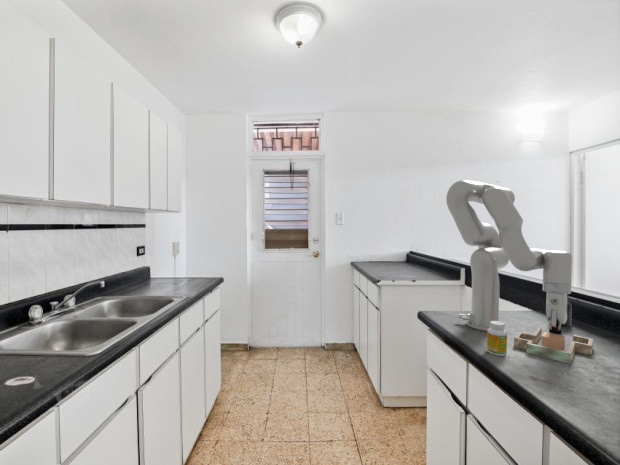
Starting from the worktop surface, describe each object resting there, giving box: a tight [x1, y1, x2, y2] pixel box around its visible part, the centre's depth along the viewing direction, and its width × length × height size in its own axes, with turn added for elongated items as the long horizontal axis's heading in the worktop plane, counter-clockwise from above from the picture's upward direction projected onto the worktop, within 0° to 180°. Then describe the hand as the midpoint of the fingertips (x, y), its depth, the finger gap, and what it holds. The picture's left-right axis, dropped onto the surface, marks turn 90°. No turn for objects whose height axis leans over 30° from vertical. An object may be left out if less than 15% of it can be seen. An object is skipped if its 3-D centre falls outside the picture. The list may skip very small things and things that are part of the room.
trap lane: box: [513, 326, 594, 365], centre depth 103 cm, size 19×21×3 cm
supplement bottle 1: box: [486, 321, 508, 357], centre depth 100 cm, size 5×5×10 cm
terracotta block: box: [540, 331, 566, 351], centre depth 102 cm, size 6×6×4 cm
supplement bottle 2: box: [561, 295, 573, 328], centre depth 126 cm, size 7×7×12 cm
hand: (554, 340), depth 106 cm, fingers closed
